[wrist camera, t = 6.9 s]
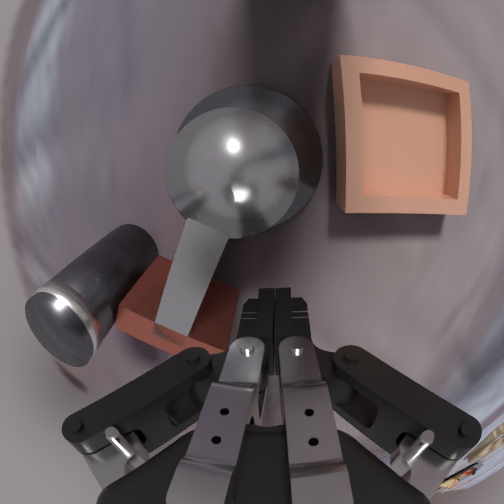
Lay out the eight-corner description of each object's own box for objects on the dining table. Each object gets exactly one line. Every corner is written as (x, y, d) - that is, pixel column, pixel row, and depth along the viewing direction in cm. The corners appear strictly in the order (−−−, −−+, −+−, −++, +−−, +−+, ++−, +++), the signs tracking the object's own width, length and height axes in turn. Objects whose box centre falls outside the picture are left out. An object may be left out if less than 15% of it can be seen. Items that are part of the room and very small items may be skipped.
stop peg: (152, 221, 18) (67, 299, 9) (164, 277, 20) (103, 374, 11) (102, 225, 19) (13, 293, 10) (116, 277, 21) (47, 359, 12)
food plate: (484, 462, 50) (486, 468, 47) (438, 488, 59) (439, 494, 55) (476, 458, 45) (479, 465, 42) (421, 488, 54) (422, 495, 51)
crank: (214, 101, 14) (181, 85, 8) (311, 142, 14) (334, 148, 9) (153, 275, 19) (115, 327, 13) (229, 308, 20) (215, 371, 14)
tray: (448, 85, 13) (468, 82, 10) (447, 204, 16) (465, 214, 14) (330, 64, 13) (339, 54, 11) (335, 202, 17) (345, 213, 15)
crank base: (316, 85, 14) (319, 83, 13) (320, 224, 18) (322, 229, 17) (171, 97, 15) (166, 96, 14) (186, 229, 19) (182, 234, 18)
